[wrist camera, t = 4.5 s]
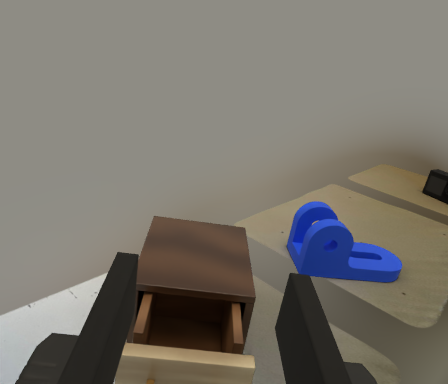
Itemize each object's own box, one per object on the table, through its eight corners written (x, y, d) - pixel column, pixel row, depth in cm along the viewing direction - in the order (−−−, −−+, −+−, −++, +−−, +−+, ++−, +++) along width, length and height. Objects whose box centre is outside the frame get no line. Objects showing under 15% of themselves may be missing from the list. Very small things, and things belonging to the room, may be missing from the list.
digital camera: (419, 192, 103) (428, 169, 101) (429, 191, 106) (438, 168, 104) (455, 208, 96) (466, 184, 93) (465, 206, 99) (476, 182, 96)
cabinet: (238, 372, 37) (256, 297, 34) (124, 360, 37) (130, 282, 33) (232, 288, 50) (245, 227, 46) (148, 278, 49) (153, 215, 45)
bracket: (299, 275, 56) (314, 223, 52) (286, 246, 63) (298, 199, 60) (407, 284, 58) (428, 235, 55) (382, 255, 66) (399, 210, 62)
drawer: (241, 494, 27) (262, 422, 24) (96, 484, 26) (99, 408, 23) (232, 327, 42) (243, 271, 39) (141, 317, 41) (146, 259, 38)
